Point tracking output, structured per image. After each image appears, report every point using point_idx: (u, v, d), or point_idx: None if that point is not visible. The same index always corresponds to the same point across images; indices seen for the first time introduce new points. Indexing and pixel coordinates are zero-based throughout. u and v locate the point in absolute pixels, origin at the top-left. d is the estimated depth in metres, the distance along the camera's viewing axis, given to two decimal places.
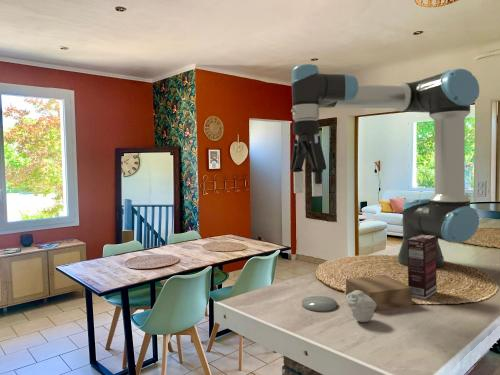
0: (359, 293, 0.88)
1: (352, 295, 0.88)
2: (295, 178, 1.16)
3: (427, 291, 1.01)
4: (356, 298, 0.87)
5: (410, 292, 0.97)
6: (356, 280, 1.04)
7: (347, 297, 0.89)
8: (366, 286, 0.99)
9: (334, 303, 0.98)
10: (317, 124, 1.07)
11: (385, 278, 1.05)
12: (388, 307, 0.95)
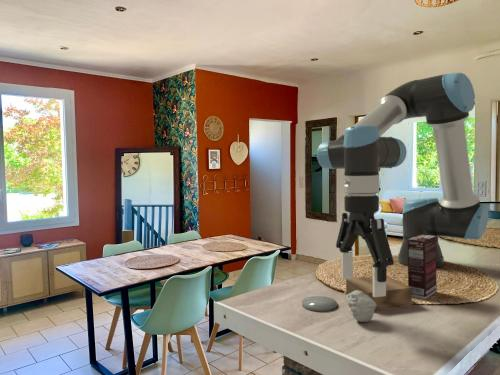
0: (359, 293, 0.88)
1: (352, 295, 0.88)
2: (343, 261, 0.93)
3: (427, 291, 1.01)
4: (356, 298, 0.87)
5: (410, 292, 0.97)
6: (356, 280, 1.04)
7: (347, 297, 0.89)
8: (366, 286, 0.99)
9: (334, 303, 0.98)
10: (377, 201, 0.84)
11: None
12: (387, 307, 0.95)
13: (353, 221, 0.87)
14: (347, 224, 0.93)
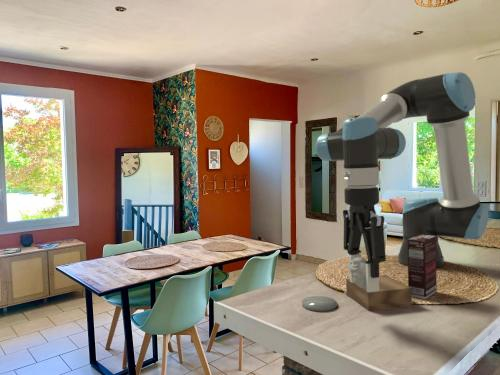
0: (361, 259, 0.87)
1: (354, 261, 0.87)
2: None
3: (427, 291, 1.01)
4: (358, 264, 0.86)
5: (410, 292, 0.97)
6: None
7: (349, 264, 0.88)
8: None
9: (334, 303, 0.98)
10: (377, 192, 0.84)
11: (386, 278, 1.05)
12: (387, 307, 0.95)
13: (353, 213, 0.87)
14: (350, 221, 0.92)
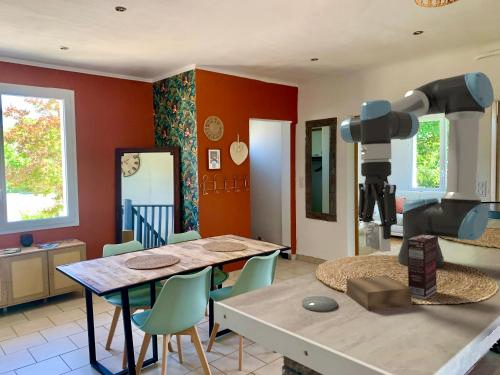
0: (374, 224, 1.00)
1: (368, 226, 1.00)
2: None
3: (427, 291, 1.01)
4: (372, 228, 0.99)
5: (410, 293, 0.96)
6: (356, 280, 1.04)
7: (364, 228, 1.01)
8: (366, 286, 0.99)
9: (334, 303, 0.98)
10: (390, 165, 0.97)
11: (386, 278, 1.05)
12: (386, 307, 0.95)
13: (369, 184, 1.00)
14: (364, 192, 1.05)
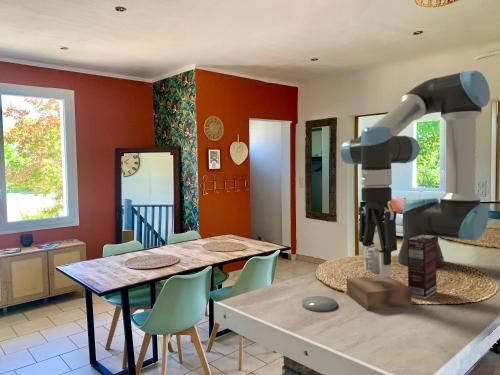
0: (375, 249, 1.00)
1: (368, 251, 1.00)
2: None
3: (427, 291, 1.01)
4: (372, 253, 0.99)
5: (409, 293, 0.96)
6: (356, 280, 1.04)
7: (364, 253, 1.01)
8: (366, 285, 0.99)
9: (334, 303, 0.98)
10: (390, 191, 0.98)
11: (386, 278, 1.05)
12: (386, 307, 0.95)
13: (369, 209, 1.00)
14: (365, 216, 1.05)
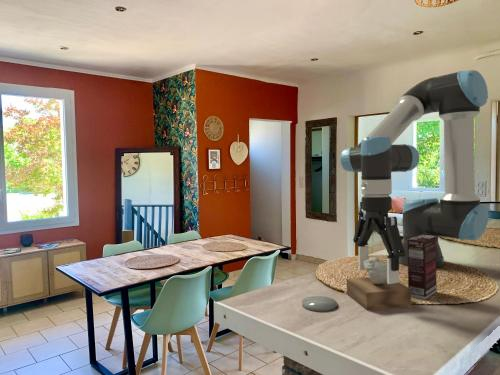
0: (375, 259, 1.00)
1: (369, 261, 1.00)
2: (360, 254, 1.07)
3: (427, 291, 1.01)
4: (373, 263, 1.00)
5: (409, 293, 0.97)
6: (356, 280, 1.04)
7: (365, 263, 1.02)
8: (365, 286, 0.99)
9: (334, 303, 0.98)
10: (390, 201, 0.98)
11: None
12: (386, 308, 0.96)
13: (369, 219, 1.01)
14: (363, 221, 1.06)
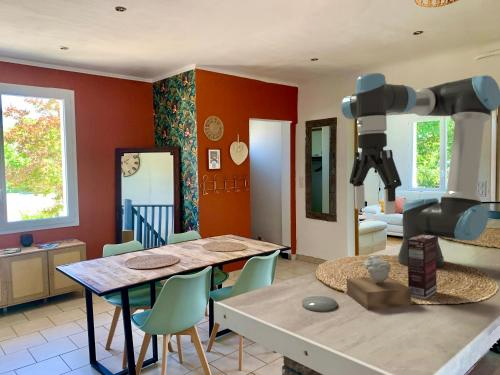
0: (374, 256, 1.02)
1: (368, 258, 1.02)
2: (357, 193, 1.10)
3: (427, 291, 1.01)
4: (372, 259, 1.01)
5: (409, 293, 0.97)
6: (356, 280, 1.05)
7: (364, 261, 1.03)
8: (366, 286, 1.00)
9: (334, 303, 0.98)
10: (385, 137, 1.01)
11: None
12: (386, 307, 0.96)
13: (365, 156, 1.04)
14: (359, 161, 1.09)
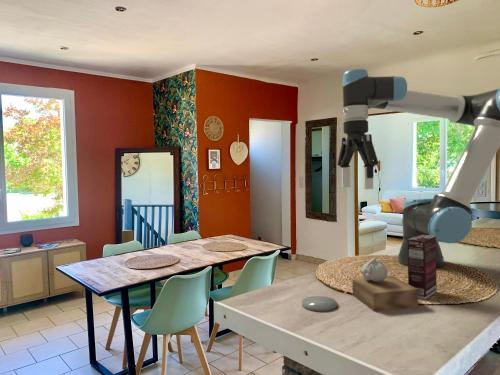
0: (362, 266, 1.05)
1: (361, 272, 1.05)
2: (343, 173, 1.26)
3: (427, 291, 1.01)
4: (362, 270, 1.04)
5: (416, 294, 0.96)
6: (362, 281, 1.04)
7: None
8: (372, 286, 0.99)
9: (334, 303, 0.98)
10: (367, 123, 1.17)
11: (392, 279, 1.04)
12: (393, 308, 0.95)
13: (350, 140, 1.20)
14: (345, 146, 1.26)
